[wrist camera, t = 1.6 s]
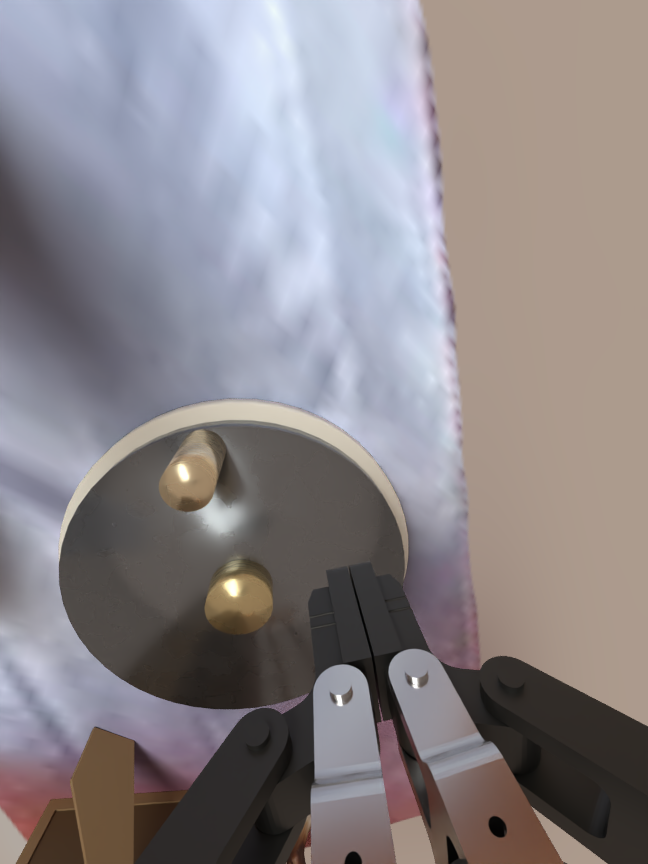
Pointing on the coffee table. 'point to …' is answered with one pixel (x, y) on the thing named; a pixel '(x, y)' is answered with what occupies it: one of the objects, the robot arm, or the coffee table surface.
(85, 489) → the base plate
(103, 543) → the handwheel
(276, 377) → the coffee table surface
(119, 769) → the photo frame
